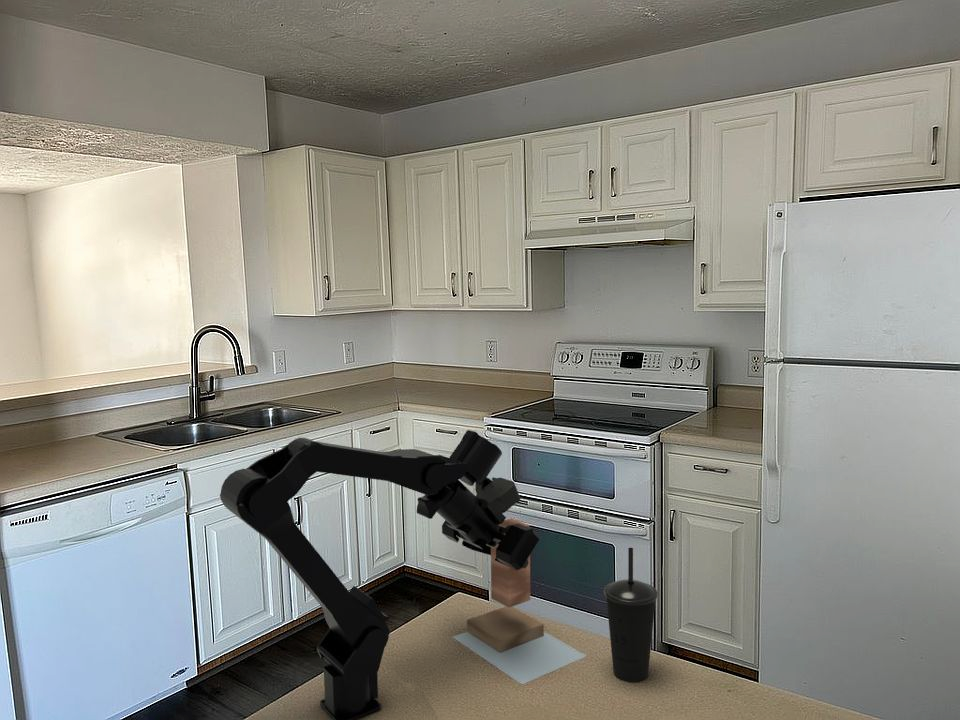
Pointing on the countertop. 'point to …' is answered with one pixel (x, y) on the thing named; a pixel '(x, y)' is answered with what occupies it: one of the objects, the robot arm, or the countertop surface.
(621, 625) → the drinking cup
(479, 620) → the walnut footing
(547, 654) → the board
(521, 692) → the countertop surface
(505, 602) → the terracotta pillar
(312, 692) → the countertop surface
